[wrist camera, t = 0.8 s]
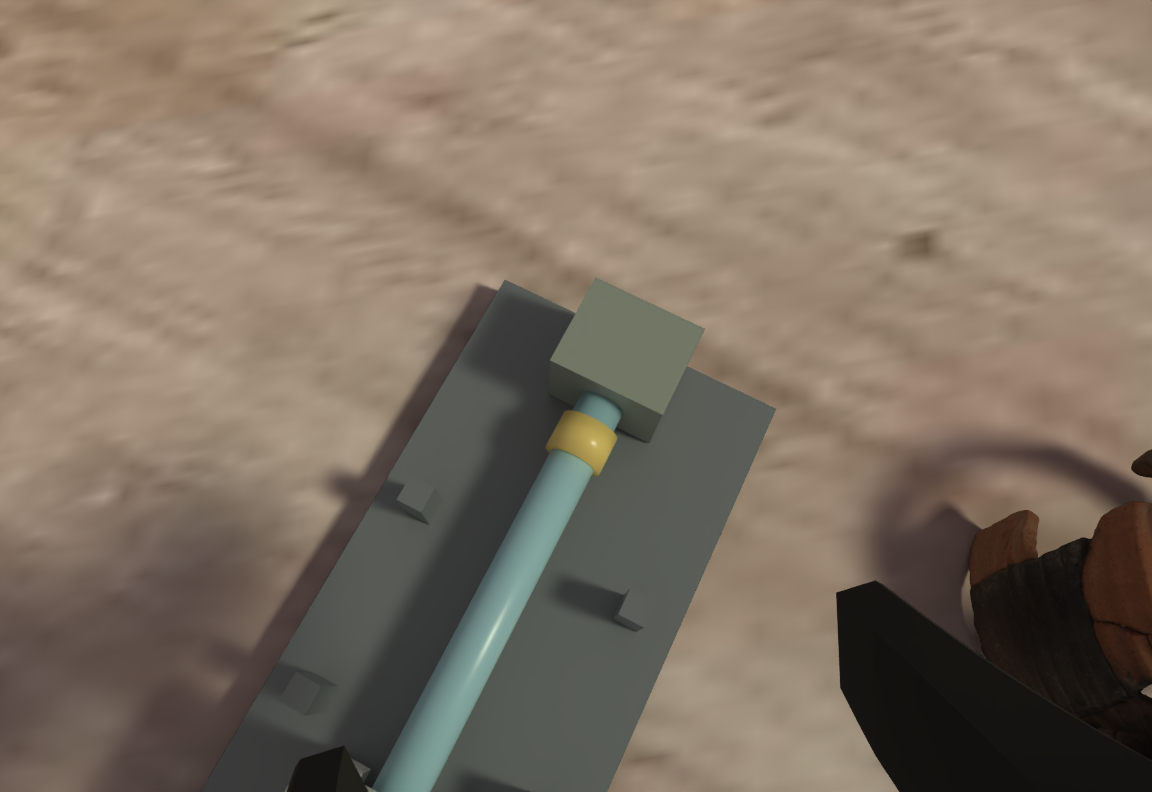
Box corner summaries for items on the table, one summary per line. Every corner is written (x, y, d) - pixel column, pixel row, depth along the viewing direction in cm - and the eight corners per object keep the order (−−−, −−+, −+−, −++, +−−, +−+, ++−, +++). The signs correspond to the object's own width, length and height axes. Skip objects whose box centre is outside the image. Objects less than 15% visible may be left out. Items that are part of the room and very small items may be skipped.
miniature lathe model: (444, 1146, 21) (424, 1249, 17) (118, 948, 22) (31, 1004, 19) (768, 418, 28) (804, 376, 24) (506, 292, 29) (501, 233, 25)
